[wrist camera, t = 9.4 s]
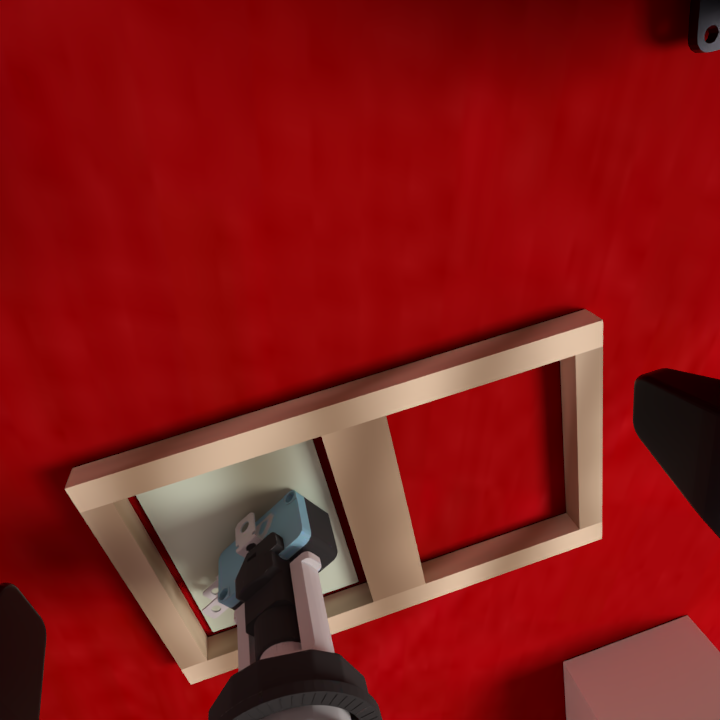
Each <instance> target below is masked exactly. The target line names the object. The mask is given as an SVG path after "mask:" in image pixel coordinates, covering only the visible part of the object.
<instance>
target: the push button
mask: <svg viewBox="0 0 720 720" xmlns="http://www.w3.org/2000/svg"><path fill="white" fill-rule="evenodd" d="M247 522H249V525H248V528H247V529H246V531H245V532H243V533H242V528H243V526H244V525H245V524H246V523H247ZM235 538H236V540H235V541H234V542H233V543H232V544H231V545H230V546H228V547H227V548H226V549H225V550H224V551H223V552H222V553H221V555H220V557H219V561H218V575H217V576H216V578H217V580H216V581H215V582H214V583H213V584H211V585H210V586H209V587H208V588H207V589H206V590H205V591H203V596H205V597H207V598H209V599H211V600H213V601H212V602H210V603H209V604H208V605H207V606H206V607H205V608H204V609H202V613H203V614H205V615H207V616H209V617H211V618H213V619H215V618H217V617H219V616H220V615H221V614H222V613H223V612H224V611H226V610H227V609H228V608H231V609H233V610H235V612H234V623H235V624H237V636H238V668H239V672H237V673H236V674H234V675H233V676H231V678H230V679H229V681H228V682H227V684H226V685H225V687H224V688H223V690H222V691H221V693H220V694H219V696H218V698H217V699H216V701H215V702H214V704H213V705H212V707H211V708H210V710H209V718H208V720H382V717H381V713H380V710H379V706H378V704H377V703H376V701H375V700H374V698H373V697H372V696H371V695H370V694H369V693H368V690H367V686H366V682H365V678H364V676H363V675H362V674H360V673H359V672H358V671H357V670H356V669H355V668H354V667H353V666H352V665H351V664H350V663H348V662H347V661H346V660H345V659H344V658H343V657H342V656H341V655H339V654H337V653H334V648H333V643H332V638H331V633H330V628H329V623H328V618H327V613H326V608H325V603H324V598H323V593H322V588H321V583H320V578H319V572H321V571H322V570H323V569H324V568H325V567H327V566H328V565H329V564H330V563H331V562H332V561H334V560H335V558H336V556H337V553H338V550H337V546H336V542H335V538H334V534H333V530H332V526H331V522H330V518H329V514H328V513H327V512H325V511H324V510H322V509H321V508H319V507H318V506H316V505H315V504H313V503H312V502H310V501H309V500H308V499H306V498H305V497H303V496H302V495H300V494H299V493H298V492H296V491H295V490H291V491H289V492H288V493H287V494H286V495H285V496H284V497H283V498H282V499H281V500H280V501H279V502H278V503H277V504H276V505H274V506H273V507H272V508H271V509H270V510H269V511H268V512H267V513H265V514H264V515H263V516H262V517H261V518H260V519H259V520H258V521H256V522H255V513H252V512H250V513H249V514H248V515H247V516H246V517H245V518H243V519H242V520H241V521H240V522H239V523H238V524H237V526H236V528H235ZM214 588H218V592H217V593H212V590H213V589H214ZM216 605H218V606H220V607H221V609H220V610H218V611H213V610H212V609H211V608H212V607H213V606H216Z"/></svg>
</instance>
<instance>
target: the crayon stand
mask: <svg viewBox="0 0 720 720" xmlns="http://www.w3.org/2000/svg"><path fill="white" fill-rule="evenodd" d="M563 668H564V687H565V705H566V720H720V652H719V651H718V650H717V648H716V647H715V646H714V645H713V644H712V643H711V642H710V640H709V639H708V638H707V637H706V636H705V635H704V634H703V632H702V631H701V630H700V629H699V628H698V627H697V626H696V624H695V623H694V622H693V621H692V620H691V619H690V618H689V616H688V615H687V616H684V617H681V618H679V619H676V620H673V621H671V622H668V623H665V624H663V625H660V626H658V627H655V628H652V629H650V630H647V631H644V632H642V633H639V634H636V635H634V636H631V637H628V638H626V639H623V640H620V641H618V642H615V643H612V644H610V645H607V646H604V647H602V648H599V649H596V650H594V651H591V652H588V653H586V654H583V655H580V656H578V657H575V658H572V659H570V660H567V661H564V662H563Z"/></svg>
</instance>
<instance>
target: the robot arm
mask: <svg viewBox="0 0 720 720" xmlns="http://www.w3.org/2000/svg"><path fill="white" fill-rule="evenodd" d="M707 29H708V30H709V35H708V38H707V40H706V41H705V39H704V35H705V31H706V30H707ZM688 45H689V47H690V49H691V50H692V51H693V52H695V53H703V52H712V51H716V50H719V49H720V0H691V3H690V17H689V32H688ZM633 424H634V428H635V431H636V433H637V435H638V437H639V438H640V439H641V441H642V442H643V443H644V445H645V446H646V447H647V449H648V450H649V451H650V452H651V454H652V455H653V456H654V458H655V459H656V460H657V462H658V463H659V464H660V465H661V467H662V468H663V469H664V471H665V472H666V473H667V475H668V476H669V477H670V478H671V480H672V481H673V482H674V484H675V485H676V486H677V488H678V489H679V490H680V491H681V493H682V494H683V495H684V497H685V498H686V499H687V501H688V502H689V503H690V504H691V506H692V507H693V508H694V509H695V511H696V512H697V513H698V514H699V515H700V517H701V518H702V519H703V520H704V521H705V523H706V524H707V525H708V526H709V527H710V528H711V529H712V530H713V531H714V533H715V534H716V535H717V536H718V537H719V538H720V380H719V379H715V378H710V377H705V376H701V375H696V374H691V373H687V372H682V371H677V370H673V369H668V368H662V369H658V370H655V371H652V372H649V373H646V374H643V375H641V376H639V377H638V378H637V379H636V381H635V384H634V404H633ZM45 647H46V629H45V625H44V622H43V620H42V618H41V617H40V616H39V614H38V613H37V612H36V611H35V609H34V608H33V607H32V606H31V604H30V603H29V602H28V601H27V599H26V598H25V597H24V596H23V594H22V593H21V592H20V590H19V589H18V588H17V587H16V586H15V585H13V584H11V583H1V584H0V720H39V715H40V703H41V692H42V681H43V670H44V659H45Z"/></svg>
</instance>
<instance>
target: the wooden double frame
mask: <svg viewBox="0 0 720 720" xmlns="http://www.w3.org/2000/svg"><path fill="white" fill-rule="evenodd" d="M559 360H560V372H561V397H562V422H563V446H564V471H565V496H566V513H564V514H561V515H559V516H556V517H553V518H550V519H547V520H544V521H541V522H538V523H535V524H533V525H530V526H527V527H524V528H521V529H518V530H515V531H512V532H510V533H507V534H504V535H501V536H498V537H495V538H492V539H489V540H487V541H484V542H481V543H478V544H475V545H472V546H469V547H466V548H464V549H461V550H458V551H455V552H452V553H449V554H446V555H443V556H441V557H438V558H435V559H432V560H429V561H426V562H423V563H421V562H420V558H419V553H418V549H417V545H416V541H415V537H414V532H413V528H412V524H411V520H410V515H409V511H408V507H407V503H406V499H405V494H404V490H403V486H402V482H401V477H400V473H399V469H398V465H397V460H396V456H395V452H394V448H393V444H392V439H391V435H390V431H389V427H388V422H387V418H386V415H389V414H393V413H396V412H399V411H402V410H405V409H408V408H411V407H415V406H418V405H421V404H424V403H427V402H430V401H433V400H436V399H440V398H443V397H446V396H449V395H452V394H455V393H458V392H462V391H465V390H468V389H471V388H474V387H477V386H480V385H484V384H487V383H490V382H493V381H496V380H499V379H502V378H506V377H509V376H512V375H515V374H518V373H521V372H524V371H528V370H531V369H534V368H537V367H540V366H543V365H546V364H550V363H553V362H556V361H559ZM602 417H603V320H602V319H600V318H599V317H597V316H595V315H594V314H592V313H591V312H589V311H587V310H586V309H584V310H581V311H577V312H574V313H571V314H568V315H564V316H561V317H558V318H555V319H552V320H548V321H545V322H542V323H539V324H535V325H532V326H529V327H526V328H522V329H519V330H516V331H513V332H510V333H506V334H503V335H500V336H497V337H493V338H490V339H487V340H484V341H481V342H477V343H474V344H471V345H468V346H464V347H461V348H458V349H455V350H452V351H448V352H445V353H442V354H439V355H435V356H432V357H429V358H426V359H423V360H419V361H416V362H413V363H410V364H406V365H403V366H400V367H397V368H394V369H390V370H387V371H384V372H381V373H377V374H374V375H371V376H368V377H365V378H361V379H358V380H355V381H352V382H348V383H345V384H342V385H339V386H336V387H332V388H329V389H326V390H323V391H319V392H316V393H313V394H310V395H307V396H303V397H300V398H297V399H294V400H290V401H287V402H284V403H281V404H278V405H274V406H271V407H268V408H265V409H261V410H258V411H255V412H252V413H249V414H245V415H242V416H239V417H236V418H232V419H229V420H226V421H223V422H219V423H216V424H213V425H210V426H207V427H203V428H200V429H197V430H194V431H190V432H187V433H184V434H181V435H178V436H174V437H171V438H168V439H165V440H161V441H158V442H155V443H152V444H149V445H145V446H142V447H139V448H136V449H132V450H129V451H126V452H123V453H120V454H116V455H113V456H110V457H107V458H103V459H100V460H97V461H94V462H91V463H87V464H84V465H81V466H78V467H74V468H72V470H71V473H70V476H69V478H68V481H67V483H66V486H65V491H66V492H67V494H68V495H69V497H70V498H71V500H72V501H73V503H74V504H75V506H76V508H77V509H78V511H79V512H80V514H81V515H82V517H83V518H84V520H85V521H86V523H87V525H88V526H89V528H90V529H91V531H92V532H93V534H94V535H95V537H96V538H97V540H98V542H99V543H100V545H101V546H102V548H103V549H104V551H105V552H106V554H107V555H108V557H109V559H110V560H111V562H112V563H113V565H114V566H115V568H116V569H117V571H118V572H119V574H120V576H121V577H122V579H123V580H124V582H125V583H126V585H127V586H128V588H129V589H130V591H131V593H132V594H133V596H134V597H135V599H136V600H137V602H138V603H139V605H140V606H141V608H142V610H143V611H144V613H145V614H146V616H147V617H148V619H149V620H150V622H151V623H152V625H153V627H154V628H155V630H156V631H157V633H158V634H159V636H160V637H161V639H162V640H163V642H164V644H165V645H166V647H167V648H168V650H169V651H170V653H171V654H172V656H173V657H174V659H175V661H176V662H177V664H178V665H179V667H180V668H181V670H182V671H183V673H184V674H185V676H186V678H187V679H188V681H189V682H190V684H194V683H197V682H199V681H202V680H205V679H208V678H211V677H214V676H216V675H219V674H222V673H225V672H228V671H230V670H233V669H236V668H238V636H237V627H236V628H233V629H231V630H228V631H225V632H222V633H219V634H216V635H213V636H210V637H207V635H206V633H205V632H204V630H203V628H202V627H201V625H200V623H199V621H198V620H197V618H196V616H195V614H194V613H193V611H192V609H191V607H190V606H189V604H188V602H187V601H186V599H185V597H184V595H183V594H182V592H181V590H180V588H179V587H178V585H177V583H176V582H175V580H174V578H173V576H172V575H171V573H170V571H169V569H168V568H167V566H166V564H165V562H164V561H163V559H162V557H161V556H160V554H159V552H158V550H157V549H156V547H155V545H154V543H153V542H152V540H151V538H150V536H149V535H148V533H147V531H146V530H145V528H144V526H143V524H142V523H141V521H140V519H139V517H138V516H137V514H136V512H135V510H134V509H133V507H132V505H131V504H130V502H129V500H128V498H129V497H132V496H135V495H136V497H137V499H138V500H139V502H140V504H141V506H142V508H143V509H144V511H145V513H146V515H147V516H148V518H149V520H150V522H151V523H152V525H153V527H154V529H155V531H156V532H157V534H158V536H159V538H160V539H161V541H162V543H163V545H164V546H165V548H166V550H167V552H168V554H169V555H170V557H171V559H172V561H173V562H174V564H175V566H176V568H177V569H178V571H179V573H180V575H181V577H182V578H183V580H184V582H185V584H186V585H187V587H188V589H189V591H190V592H191V594H192V596H193V598H194V600H195V601H196V603H197V605H198V607H199V608H200V610H201V612H202V609H204V608H205V607H206V606H207V605H208V604H209V603H210V602H212V601H213V600H211V599H209V598H207V597H205V596H203V591H205V590H206V589H207V588H208V587H209V586H210V585H211V584H213V583H214V582H215V581H216V580H217V578H216V576H217V575H218V561H219V557H220V555H221V553H222V552H223V551H224V550H225V549H226V548H227V547H228V546H230V545H231V544H232V543H233V542H234V541H235V540H236V538H235V528H236V526H237V524H238V523H239V522H240V521H241V520H242V519H243V518H245V517H246V516H247V515H248V514H249V513H250V512H252V513H255V522H256V521H258V520H259V519H260V518H261V517H262V516H263V515H264V514H265V513H267V512H268V511H269V510H270V509H271V508H272V507H273V506H274V505H276V504H277V503H278V502H279V501H280V500H281V499H282V498H283V497H284V496H285V495H286V494H287V493H288V492H289V491H291V490H295V491H296V492H298V493H299V494H300V495H302V496H303V497H305V498H306V499H308V500H309V501H310V502H312V503H313V504H315V505H316V506H318V507H319V508H321V509H322V510H324V511H325V512H327V513H328V514H329V518H330V522H331V526H332V530H333V534H334V538H335V542H336V546H337V550H338V553H337V556H336V558H335V560H334V561H332V562H331V563H330V564H329V565H328V566H327V567H325V568H324V569H323V570H322V571H321V572H319V578H320V583H321V588H322V593H323V594H325V593H328V592H331V591H334V590H337V589H340V588H342V587H345V586H348V585H351V584H354V583H357V582H359V580H358V577H357V574H356V571H355V568H354V565H353V562H352V559H351V556H350V553H349V550H348V547H347V543H346V540H345V537H344V534H343V531H342V528H341V525H340V522H339V519H338V516H337V513H336V510H335V507H334V504H333V501H332V498H331V495H330V491H329V488H328V485H327V482H326V479H325V476H324V473H323V470H322V467H321V464H320V461H319V458H318V455H317V452H316V449H315V446H314V443H313V439H314V438H317V437H320V436H321V437H322V440H323V443H324V446H325V449H326V453H327V456H328V459H329V462H330V465H331V468H332V472H333V475H334V478H335V481H336V484H337V487H338V491H339V494H340V497H341V500H342V503H343V507H344V510H345V513H346V516H347V519H348V522H349V526H350V529H351V532H352V535H353V538H354V541H355V545H356V548H357V551H358V554H359V557H360V560H361V564H362V567H363V570H364V573H365V576H366V579H367V582H366V583H363V584H360V585H357V586H354V587H351V588H348V589H346V590H343V591H340V592H337V593H334V594H331V595H328V596H325V597H323V598H324V603H325V608H326V613H327V618H328V623H329V628H330V633H331V635H332V634H335V633H338V632H340V631H343V630H346V629H349V628H352V627H354V626H357V625H360V624H363V623H366V622H369V621H371V620H374V619H377V618H380V617H383V616H385V615H388V614H391V613H394V612H397V611H400V610H402V609H405V608H408V607H411V606H414V605H416V604H419V603H422V602H425V601H428V600H431V599H433V598H436V597H439V596H442V595H445V594H447V593H450V592H453V591H456V590H459V589H462V588H464V587H467V586H470V585H473V584H476V583H478V582H481V581H484V580H487V579H490V578H493V577H495V576H498V575H501V574H504V573H507V572H509V571H512V570H515V569H518V568H521V567H524V566H526V565H529V564H532V563H535V562H538V561H540V560H543V559H546V558H549V557H552V556H555V555H557V554H560V553H563V552H566V551H569V550H571V549H574V548H577V547H580V546H583V545H586V544H588V543H591V542H594V541H597V540H600V539H602ZM248 525H249V522H247V523H246V524H245V525H244V526H243V528H242V533H243V532H245V531H246V529H247V528H248ZM217 592H218V588H214V589H213V590H212V593H217ZM211 609H212V610H213V611H218V610H220V609H221V607H220V606H218V605H216V606H213V607H212V608H211ZM234 612H235V610H233V609H231V608H228V609H227V610H226V611H224V612H223V613H222V614H221V615H220V616H219V617H217V618H215V619H213V618H211V617H209V616H207V615H205V614H203V613H202V614H203V615H204V617H205V619H206V621H207V623H208V624H209V626H210V628H211V630H212V631H213V632H216V631H219V630H221V629H224V628H227V627H230V626H233V625H236V624H235V623H234Z"/></svg>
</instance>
